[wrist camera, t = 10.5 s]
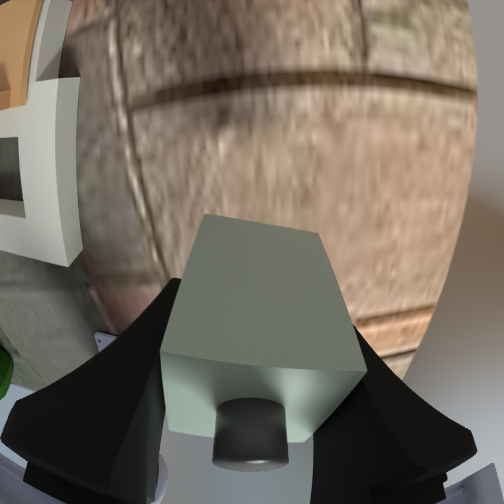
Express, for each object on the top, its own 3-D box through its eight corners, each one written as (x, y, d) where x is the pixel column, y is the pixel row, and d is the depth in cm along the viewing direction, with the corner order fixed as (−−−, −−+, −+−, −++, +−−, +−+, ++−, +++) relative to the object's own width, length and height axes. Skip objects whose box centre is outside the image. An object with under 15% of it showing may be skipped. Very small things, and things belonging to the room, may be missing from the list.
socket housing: (82, 249, 20) (68, 267, 18) (-13, 228, 18) (-28, 241, 16) (96, -4, 10) (77, -13, 8) (-18, 35, 9) (-37, 36, 7)
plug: (289, 315, 14) (307, 480, 7) (195, 301, 13) (162, 470, 6) (318, 233, 11) (383, 427, 4) (204, 213, 11) (143, 415, 4)
